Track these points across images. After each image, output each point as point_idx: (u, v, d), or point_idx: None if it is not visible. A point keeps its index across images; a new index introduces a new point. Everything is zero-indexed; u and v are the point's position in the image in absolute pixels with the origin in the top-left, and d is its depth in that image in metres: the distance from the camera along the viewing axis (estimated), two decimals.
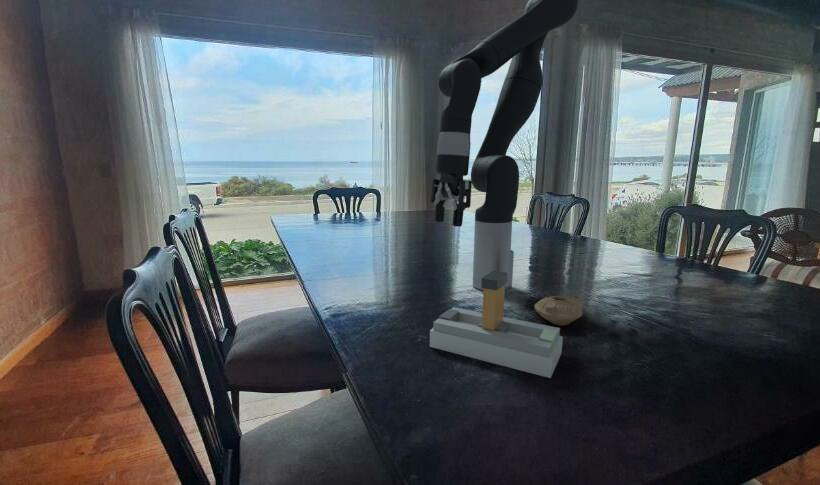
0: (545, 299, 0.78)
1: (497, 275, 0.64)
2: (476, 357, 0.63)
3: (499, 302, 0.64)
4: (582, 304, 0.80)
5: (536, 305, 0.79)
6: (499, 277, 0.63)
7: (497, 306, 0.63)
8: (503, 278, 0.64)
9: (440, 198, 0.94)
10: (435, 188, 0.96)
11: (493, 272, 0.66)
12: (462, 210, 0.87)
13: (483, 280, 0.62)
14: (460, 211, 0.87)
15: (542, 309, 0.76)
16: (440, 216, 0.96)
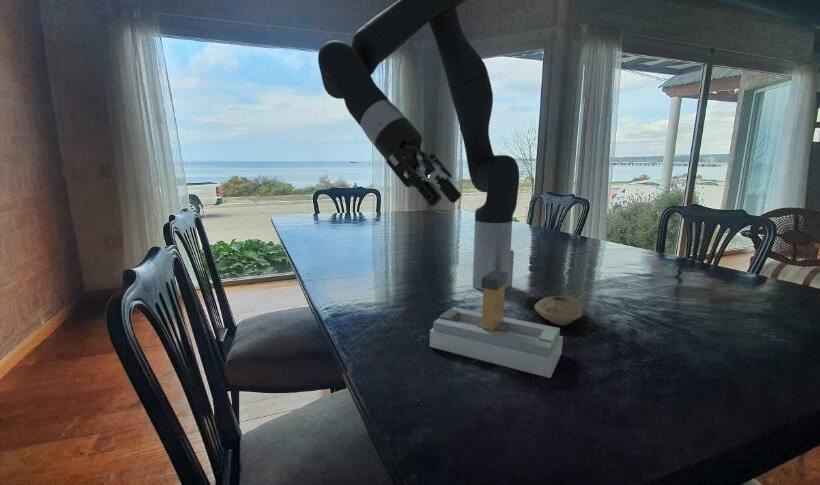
0: (545, 299, 0.78)
1: (497, 275, 0.64)
2: (476, 357, 0.63)
3: (499, 302, 0.64)
4: (582, 304, 0.80)
5: (536, 305, 0.79)
6: (499, 277, 0.63)
7: (497, 306, 0.63)
8: (503, 278, 0.64)
9: (430, 178, 0.70)
10: None
11: (493, 272, 0.66)
12: (421, 184, 0.63)
13: (483, 280, 0.62)
14: (420, 187, 0.63)
15: (542, 309, 0.76)
16: (451, 193, 0.70)
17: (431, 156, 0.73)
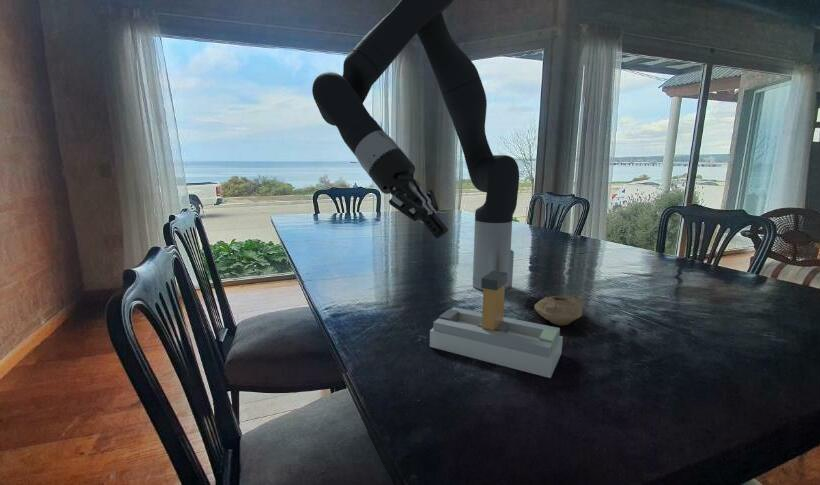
0: (545, 299, 0.78)
1: (497, 275, 0.64)
2: (476, 357, 0.63)
3: (499, 302, 0.64)
4: (582, 304, 0.80)
5: (536, 305, 0.79)
6: (499, 277, 0.63)
7: (497, 306, 0.63)
8: (503, 278, 0.64)
9: None
10: None
11: (493, 272, 0.66)
12: (427, 218, 0.67)
13: (483, 280, 0.62)
14: (426, 220, 0.67)
15: (542, 309, 0.76)
16: None
17: (428, 191, 0.73)
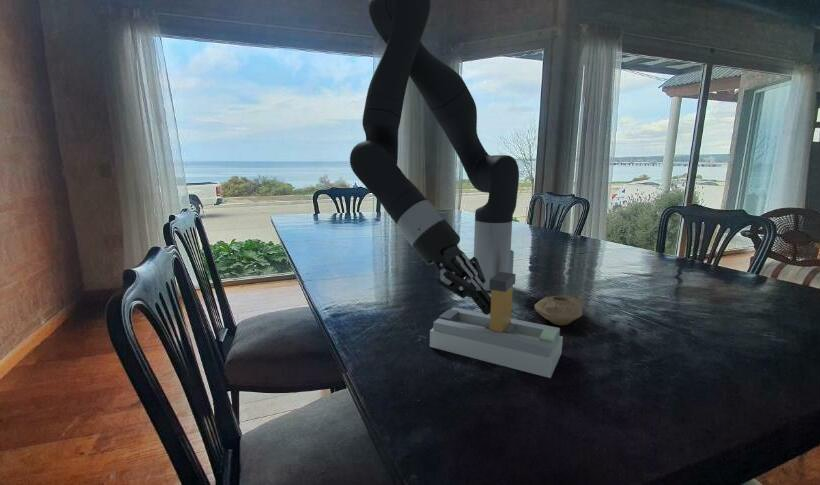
0: (545, 299, 0.78)
1: (505, 276, 0.63)
2: (476, 357, 0.63)
3: (507, 303, 0.63)
4: (582, 304, 0.80)
5: (536, 305, 0.79)
6: (508, 279, 0.62)
7: (505, 307, 0.63)
8: (511, 279, 0.63)
9: None
10: None
11: (501, 273, 0.65)
12: (475, 294, 0.65)
13: (491, 281, 0.62)
14: (475, 297, 0.65)
15: (542, 309, 0.76)
16: None
17: (472, 259, 0.71)
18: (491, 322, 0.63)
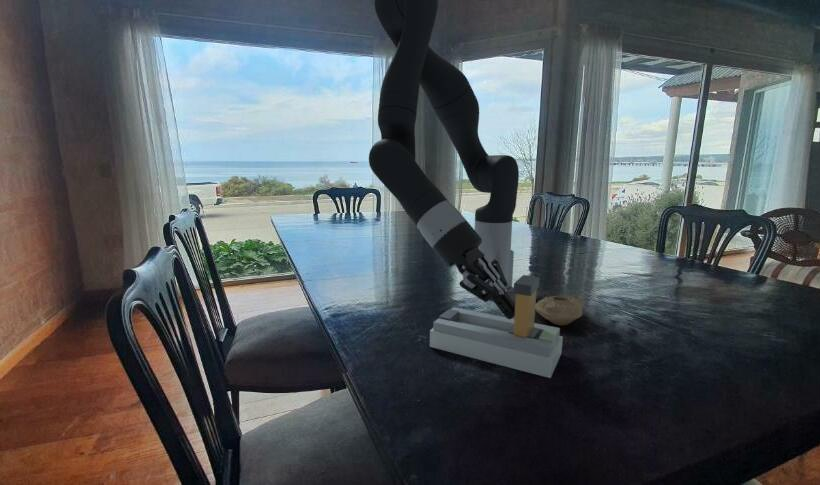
0: (545, 299, 0.78)
1: (529, 280, 0.61)
2: (476, 357, 0.63)
3: (531, 307, 0.62)
4: (582, 304, 0.80)
5: (536, 305, 0.79)
6: (532, 282, 0.60)
7: (529, 312, 0.61)
8: (536, 283, 0.61)
9: None
10: None
11: (524, 276, 0.63)
12: (498, 298, 0.63)
13: (516, 285, 0.60)
14: (497, 301, 0.63)
15: (542, 309, 0.76)
16: None
17: (493, 261, 0.69)
18: (515, 327, 0.61)
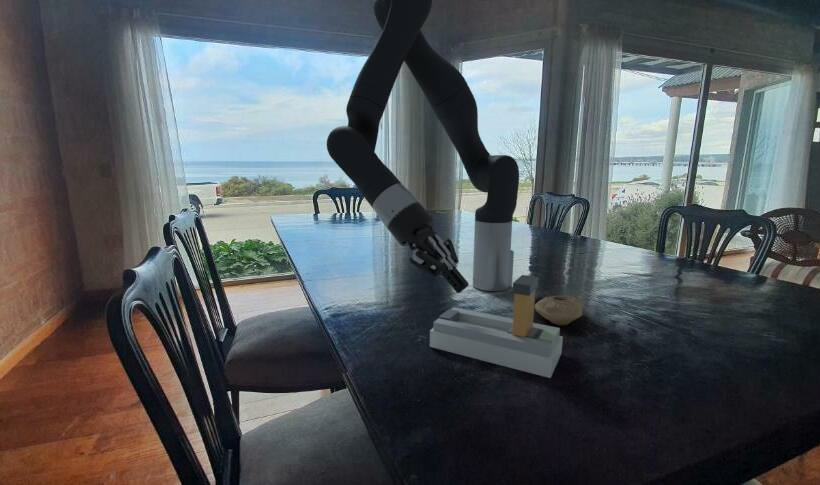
0: (545, 299, 0.78)
1: (528, 280, 0.61)
2: (476, 357, 0.63)
3: (530, 307, 0.62)
4: (582, 304, 0.80)
5: (536, 305, 0.79)
6: (531, 282, 0.60)
7: (528, 311, 0.61)
8: (534, 282, 0.61)
9: None
10: None
11: (523, 276, 0.64)
12: (447, 273, 0.67)
13: (514, 285, 0.60)
14: (447, 276, 0.67)
15: (542, 309, 0.77)
16: None
17: (446, 240, 0.73)
18: (514, 327, 0.61)
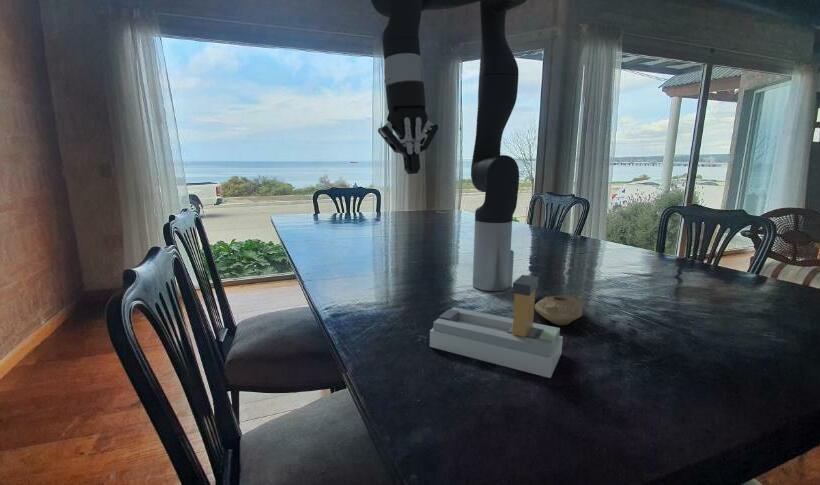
0: (545, 299, 0.78)
1: (528, 280, 0.61)
2: (476, 357, 0.63)
3: (530, 307, 0.62)
4: (582, 304, 0.80)
5: (536, 305, 0.79)
6: (531, 282, 0.60)
7: (528, 311, 0.61)
8: (534, 282, 0.61)
9: None
10: (424, 133, 0.80)
11: (523, 276, 0.64)
12: (405, 155, 0.77)
13: (514, 285, 0.60)
14: (404, 156, 0.78)
15: (542, 309, 0.77)
16: None
17: (433, 125, 0.79)
18: (514, 327, 0.61)
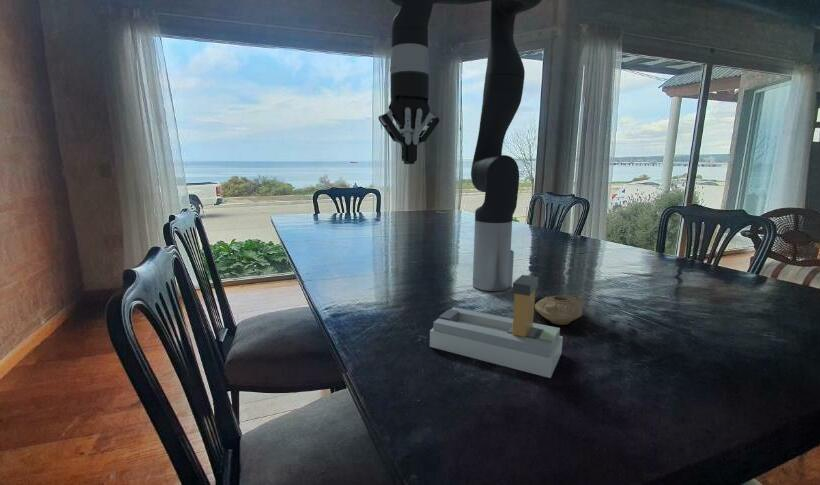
0: (545, 299, 0.78)
1: (528, 280, 0.61)
2: (476, 357, 0.63)
3: (530, 307, 0.62)
4: (582, 304, 0.80)
5: (536, 305, 0.79)
6: (531, 282, 0.60)
7: (528, 311, 0.61)
8: (534, 282, 0.61)
9: None
10: (425, 125, 0.81)
11: (523, 276, 0.64)
12: (403, 145, 0.78)
13: (514, 285, 0.60)
14: (402, 146, 0.79)
15: (542, 309, 0.77)
16: None
17: (434, 118, 0.79)
18: (514, 327, 0.61)
